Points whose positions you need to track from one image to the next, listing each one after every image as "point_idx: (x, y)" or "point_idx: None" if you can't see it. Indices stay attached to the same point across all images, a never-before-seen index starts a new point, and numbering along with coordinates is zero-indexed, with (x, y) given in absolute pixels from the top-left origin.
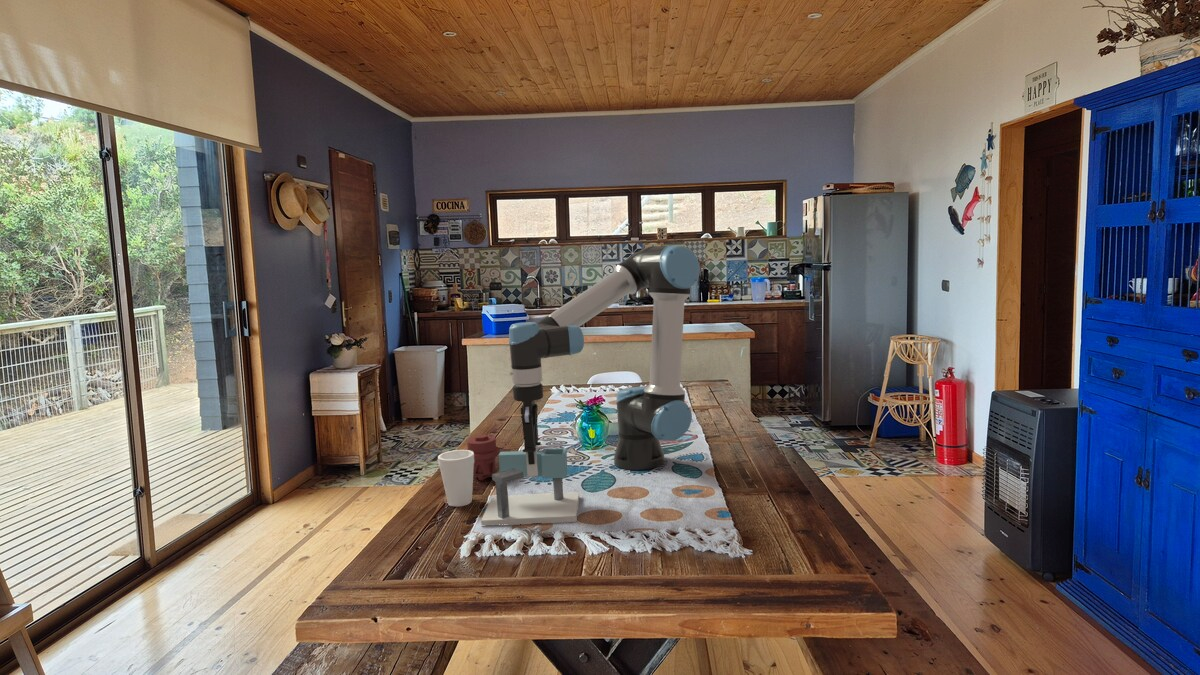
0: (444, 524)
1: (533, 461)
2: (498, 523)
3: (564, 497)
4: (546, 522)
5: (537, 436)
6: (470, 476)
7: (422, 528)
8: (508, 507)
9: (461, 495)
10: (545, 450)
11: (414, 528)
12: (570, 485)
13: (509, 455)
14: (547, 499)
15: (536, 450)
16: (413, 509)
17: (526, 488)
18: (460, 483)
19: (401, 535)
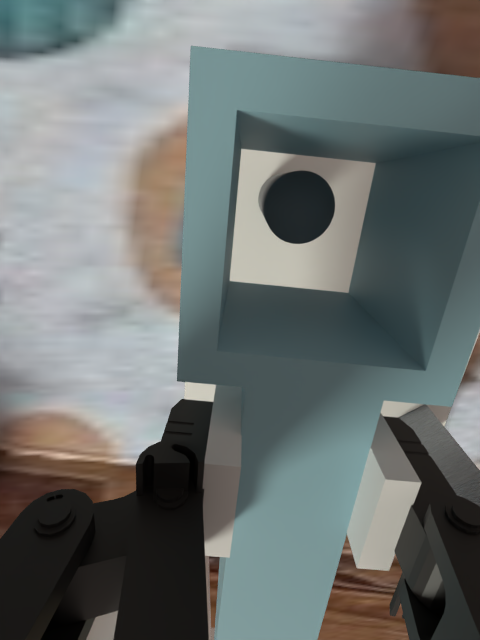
0: (350, 553)
1: (415, 440)
2: None
3: (272, 168)
4: None
5: (63, 569)
6: None
7: (360, 593)
8: (444, 428)
9: (206, 561)
10: (254, 360)
11: (352, 607)
12: (10, 127)
13: (317, 630)
14: (277, 256)
15: (392, 481)
16: None
17: (47, 340)
18: (208, 614)
19: (390, 624)
